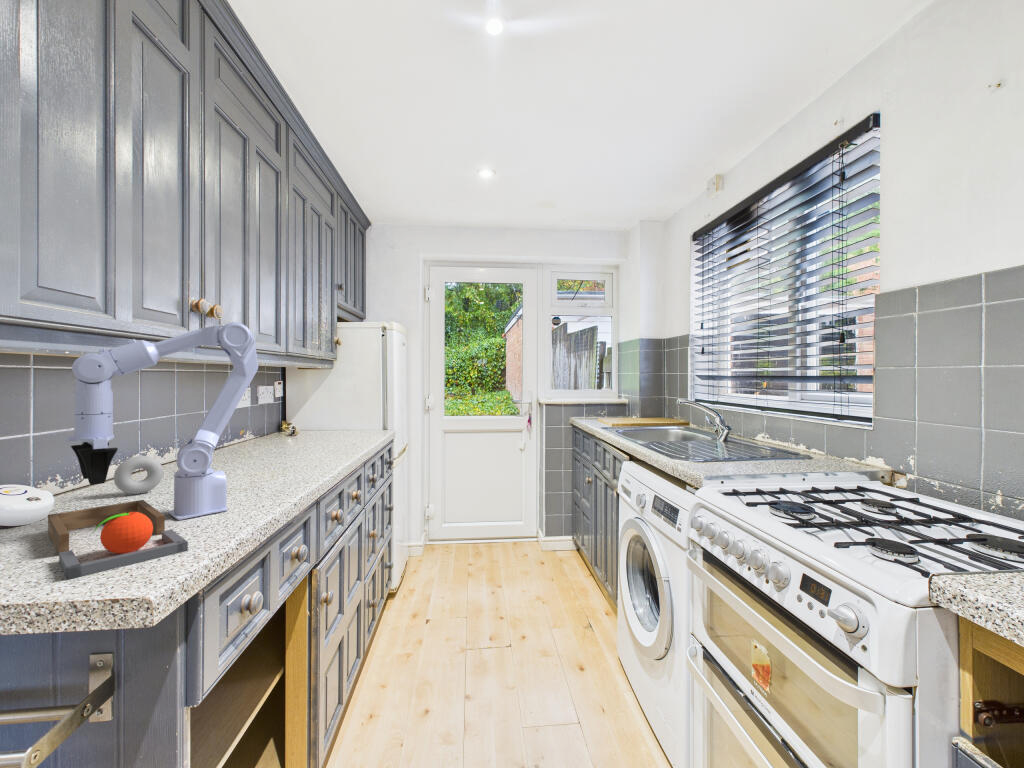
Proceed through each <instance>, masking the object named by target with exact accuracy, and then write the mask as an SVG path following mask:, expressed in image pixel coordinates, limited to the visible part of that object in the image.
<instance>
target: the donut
mask: <svg viewBox="0 0 1024 768" xmlns="http://www.w3.org/2000/svg"><path fill="white" fill-rule="evenodd" d="M138 469H142V470H144V471H146V473H147V474H146V476H145V478H143V479H141V480H135V479H133V478H132V474H133V472H134V471H136V470H138ZM163 476H164V469H163V465H162V464H161V463H160V461H159V460H157V459H156V458H154V457H152V456H148V455H147V456H146V455H137V456H136V455H135V456H132V457H130V458H127V459H125V460H123V461H122V462H121V463H120V464H119V465H118V466H117V467H116V469H115V471H114V474H113V483H114V485H115V486H116V488H117V489H118V490H120V491H121V492H123V493H125V494H130V495H141V494H144V493H148V492H150V491H152V490H153V489H156V487H157V486H158V485H159V484H160V482H161V481H162V479H163ZM140 493H141V494H140Z"/></svg>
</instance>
